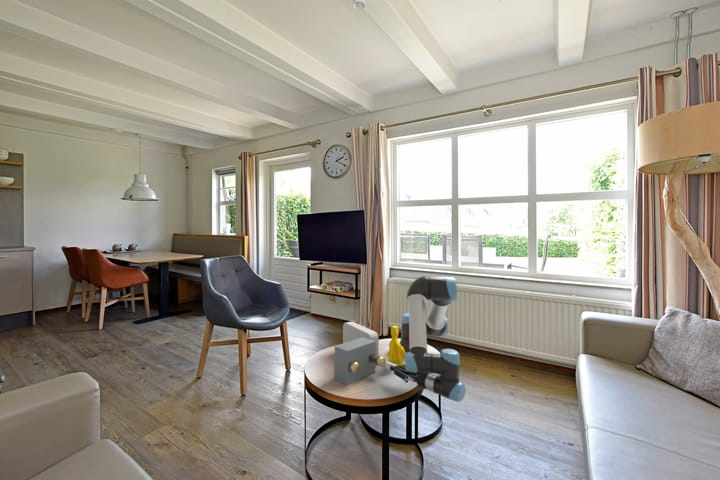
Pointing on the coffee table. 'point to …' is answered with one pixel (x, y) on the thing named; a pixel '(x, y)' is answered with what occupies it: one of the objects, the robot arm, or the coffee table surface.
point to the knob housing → (354, 359)
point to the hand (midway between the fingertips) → (386, 364)
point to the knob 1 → (354, 367)
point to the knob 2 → (377, 360)
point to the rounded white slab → (359, 333)
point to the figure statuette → (395, 348)
